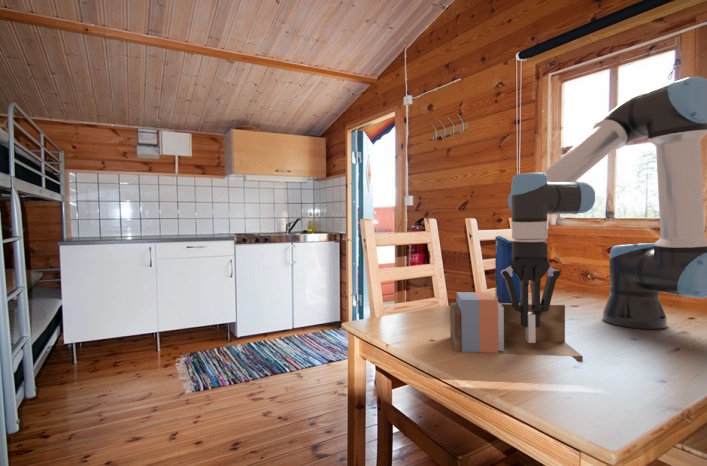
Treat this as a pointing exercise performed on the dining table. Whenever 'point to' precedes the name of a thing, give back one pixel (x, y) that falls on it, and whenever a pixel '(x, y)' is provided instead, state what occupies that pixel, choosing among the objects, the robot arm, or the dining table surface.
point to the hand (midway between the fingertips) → (530, 340)
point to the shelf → (547, 334)
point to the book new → (488, 322)
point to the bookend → (500, 327)
